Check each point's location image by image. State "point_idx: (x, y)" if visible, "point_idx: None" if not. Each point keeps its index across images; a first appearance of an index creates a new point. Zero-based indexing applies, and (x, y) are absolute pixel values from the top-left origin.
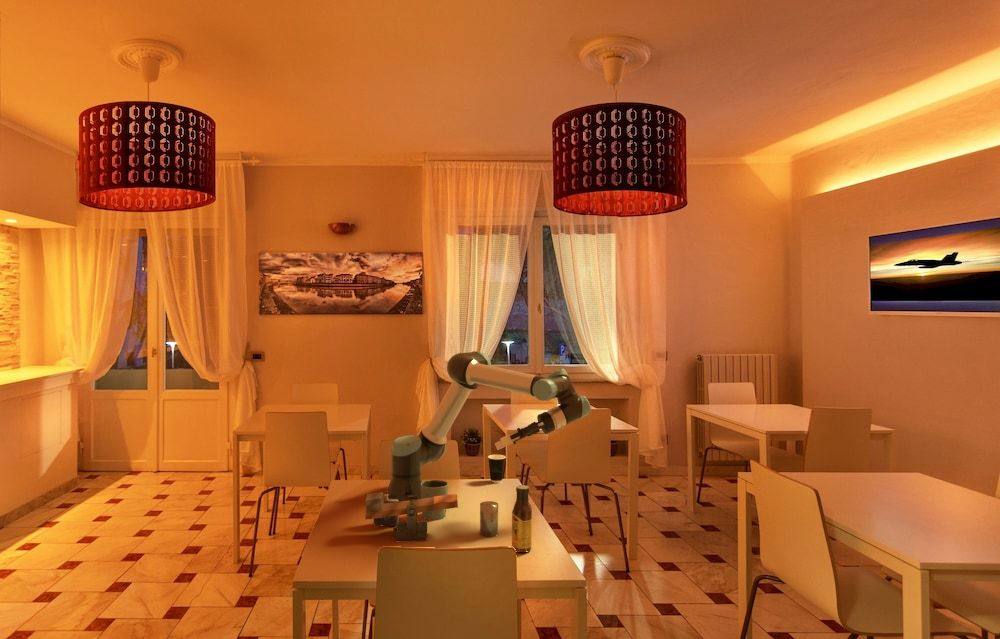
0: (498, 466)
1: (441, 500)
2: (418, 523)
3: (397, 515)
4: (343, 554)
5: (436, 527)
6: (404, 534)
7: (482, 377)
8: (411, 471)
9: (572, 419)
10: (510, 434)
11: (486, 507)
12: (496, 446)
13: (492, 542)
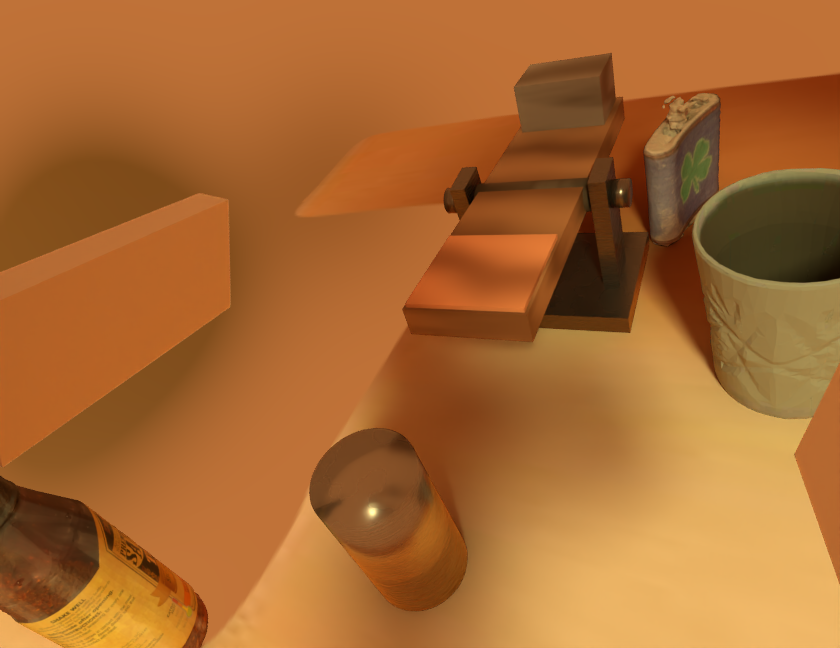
0: None
1: (462, 257)
2: (612, 289)
3: (651, 207)
4: (459, 163)
5: (599, 362)
6: None
7: None
8: None
9: None
10: (70, 258)
11: (331, 452)
12: (822, 402)
13: (318, 543)
